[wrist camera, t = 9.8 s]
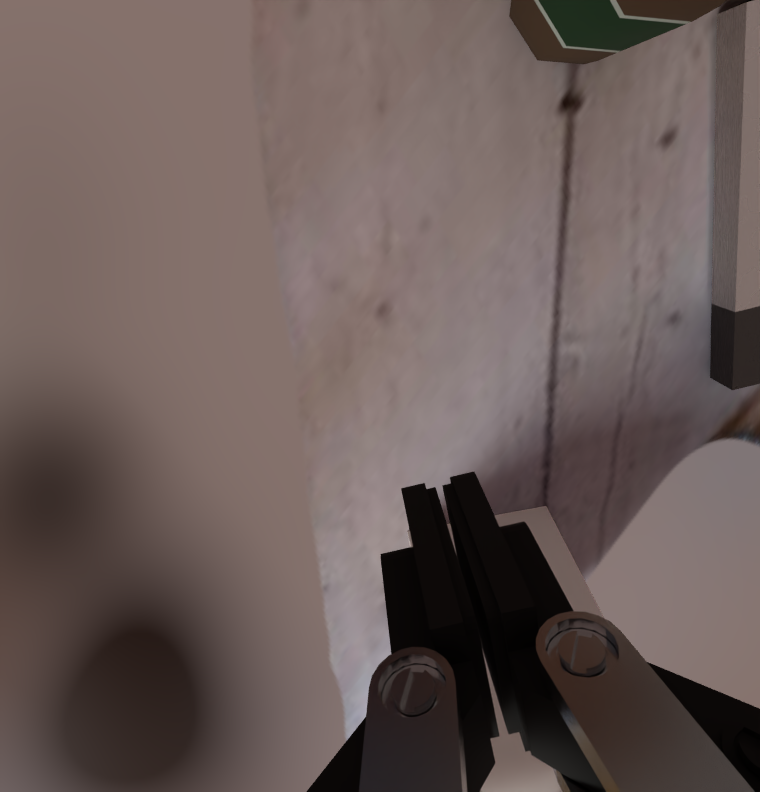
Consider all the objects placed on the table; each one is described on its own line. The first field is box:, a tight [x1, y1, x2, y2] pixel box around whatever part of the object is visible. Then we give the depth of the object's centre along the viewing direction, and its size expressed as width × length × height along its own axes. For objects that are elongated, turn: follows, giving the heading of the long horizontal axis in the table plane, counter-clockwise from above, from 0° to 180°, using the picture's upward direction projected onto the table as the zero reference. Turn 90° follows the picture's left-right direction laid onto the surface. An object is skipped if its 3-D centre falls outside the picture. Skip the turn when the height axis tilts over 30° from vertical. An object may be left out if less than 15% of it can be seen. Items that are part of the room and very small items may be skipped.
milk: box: [407, 506, 605, 792], centre depth 36 cm, size 12×12×26 cm
